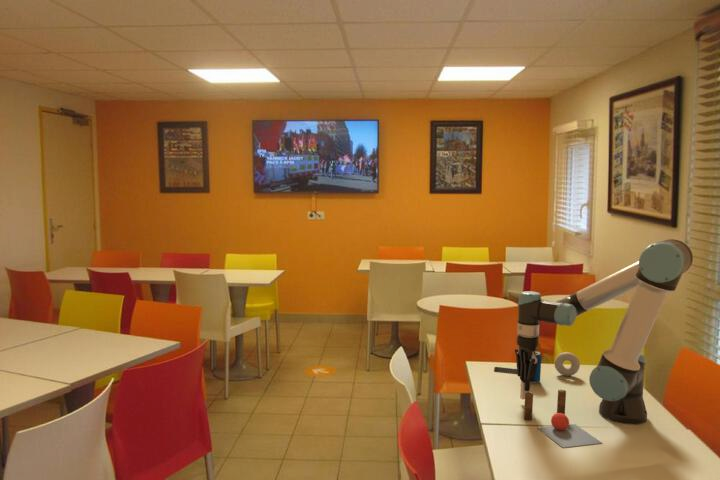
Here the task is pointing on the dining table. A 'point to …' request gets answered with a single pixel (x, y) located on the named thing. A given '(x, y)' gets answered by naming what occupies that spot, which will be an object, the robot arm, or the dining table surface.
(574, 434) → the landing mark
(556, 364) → the donut
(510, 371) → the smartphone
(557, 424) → the ball
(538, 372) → the beverage can
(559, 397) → the post right
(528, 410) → the post left
